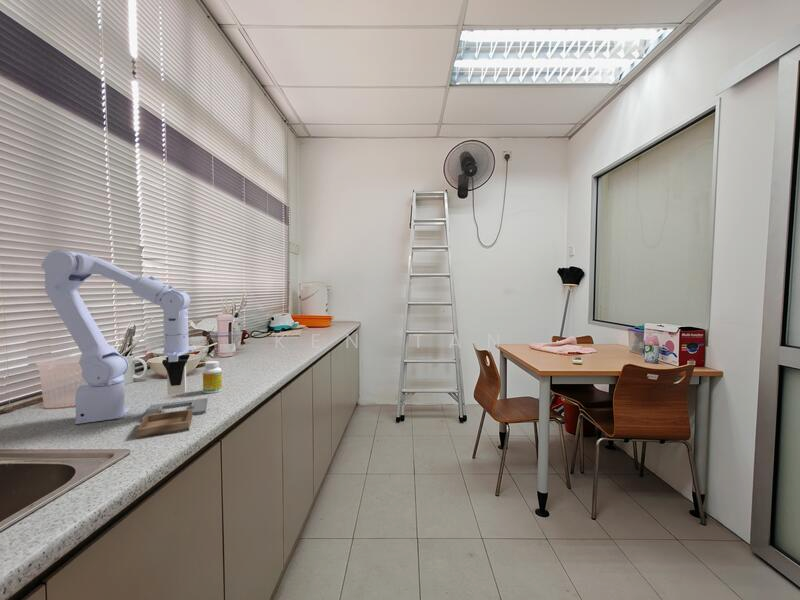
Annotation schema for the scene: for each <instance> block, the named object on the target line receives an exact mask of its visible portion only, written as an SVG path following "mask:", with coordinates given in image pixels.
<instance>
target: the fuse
mask: <svg viewBox="0 0 800 600" xmlns="http://www.w3.org/2000/svg"><path fill="white" fill-rule="evenodd" d="M166 381H167V383H166V384H167V385H166V388H167V394H166V395H168V396H171V395H179V394H185V393H186V391H187V363H186V364H185V366H184V370H183V375H182V381H181V385H176V386H171V384H170V380H169V376H168V373H167V372H166Z"/></svg>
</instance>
